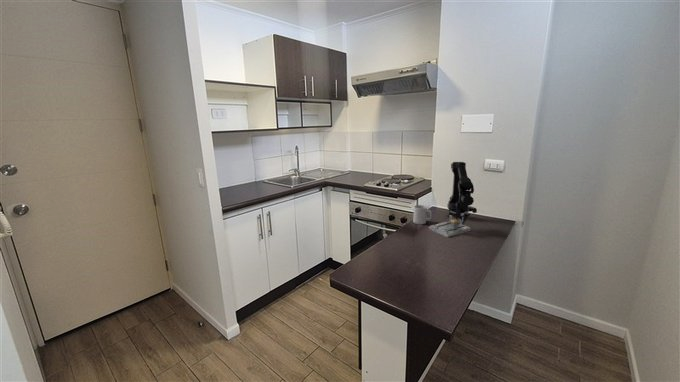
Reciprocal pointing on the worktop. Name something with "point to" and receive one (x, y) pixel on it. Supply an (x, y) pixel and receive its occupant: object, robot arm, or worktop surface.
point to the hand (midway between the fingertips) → (461, 224)
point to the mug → (421, 214)
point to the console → (448, 229)
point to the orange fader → (454, 224)
